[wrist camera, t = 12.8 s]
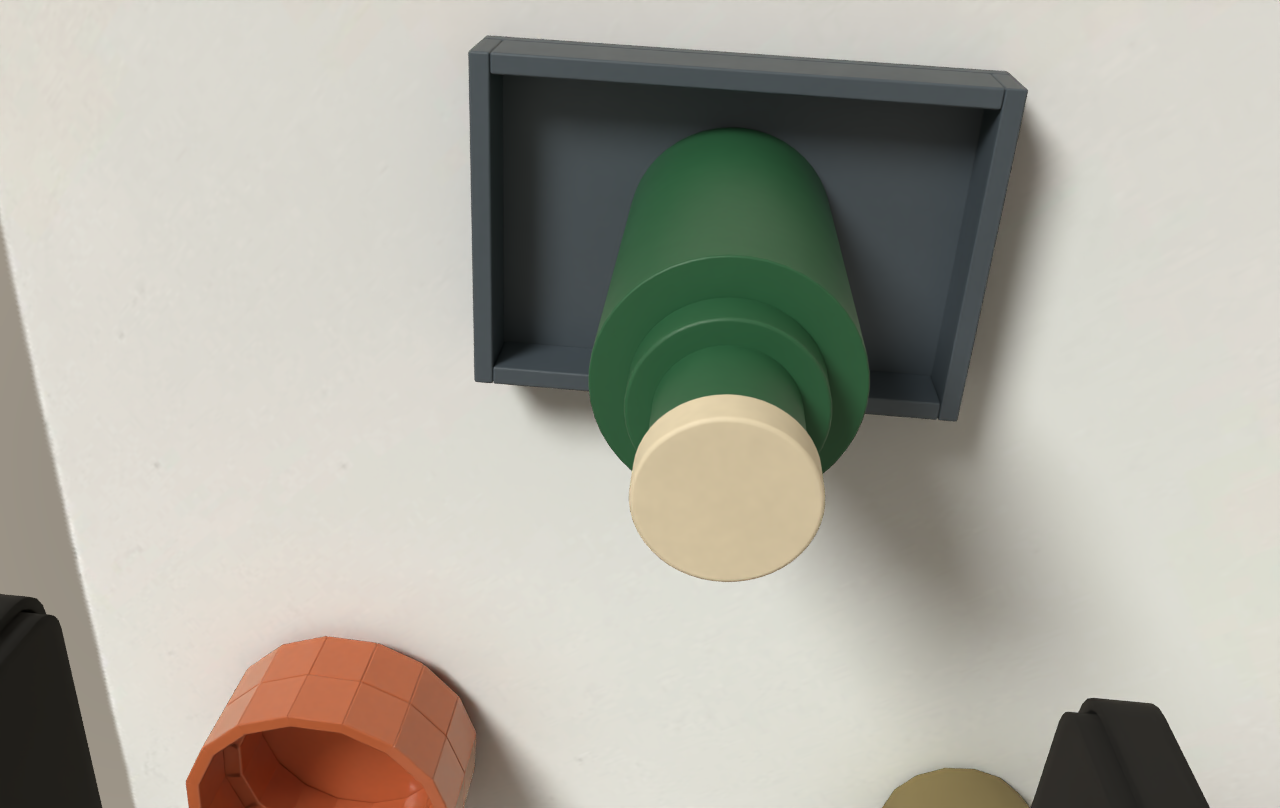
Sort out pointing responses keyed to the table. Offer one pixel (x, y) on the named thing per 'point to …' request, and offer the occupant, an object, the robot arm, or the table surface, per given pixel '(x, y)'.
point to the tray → (744, 98)
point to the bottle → (729, 355)
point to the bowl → (337, 734)
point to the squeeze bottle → (955, 791)
